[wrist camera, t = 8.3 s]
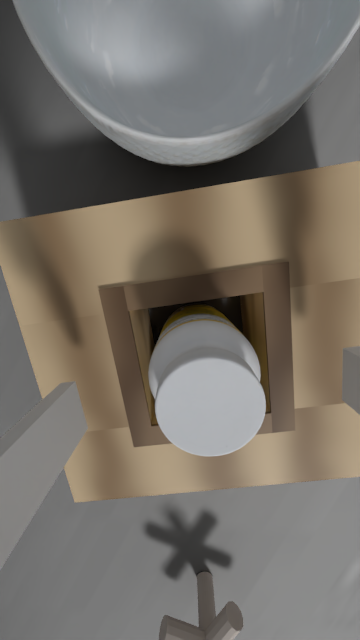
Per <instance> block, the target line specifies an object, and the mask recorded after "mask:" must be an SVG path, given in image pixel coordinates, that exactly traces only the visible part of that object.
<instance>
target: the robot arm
mask: <svg viewBox="0 0 360 640" xmlns="http://www.w3.org/2000/svg"><path fill="white" fill-rule="evenodd" d="M342 400H343V401H344V402H345V403H346V404H347V405H349V406H350V407H351V408H352V409H353V410H355V411H356V412H357V413H358V414H359V415H360V346H356V347H348V348H343V366H342ZM87 429H88V426H87V423H86V419H85V415H84V412H83V408H82V404H81V401H80V397H79V393H78V389H77V386H76V382H75V381H73V382H65V383H60V384H59V385H58V386H57V387H56V388H55V389H54V390H52V391H51V392H50V393H49V394H48V395H47V396H46V397H45V398H44V399H43V400H41V401H40V402H39V403H38V404H37V405H36V406H35V407H34V408H33V409H32V410H30V411H29V412H28V413H27V414H26V415H25V416H24V417H23V418H22V419H21V420H19V421H18V422H17V423H16V424H15V425H14V426H13V427H12V428H11V429H10V430H8V431H7V432H6V433H5V434H4V435H3V436H2V437H1V438H0V570H1V568H2V567H3V565H4V563H5V562H6V560H7V559H8V557H9V555H10V554H11V552H12V550H13V549H14V547H15V546H16V544H17V542H18V541H19V539H20V537H21V536H22V534H23V533H24V531H25V529H26V528H27V526H28V525H29V523H30V521H31V520H32V518H33V516H34V515H35V513H36V512H37V510H38V508H39V507H40V505H41V503H42V502H43V500H44V499H45V497H46V495H47V494H48V492H49V490H50V489H51V487H52V486H53V484H54V482H55V481H56V479H57V477H58V476H59V474H60V473H61V471H62V469H63V468H64V466H65V465H66V463H67V461H68V460H69V458H70V456H71V455H72V453H73V452H74V450H75V448H76V447H77V445H78V443H79V442H80V440H81V439H82V437H83V435H84V434H85V432H86V430H87Z"/></svg>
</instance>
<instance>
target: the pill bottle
mask: <svg viewBox="0 0 360 640" xmlns="http://www.w3.org/2000/svg"><path fill="white" fill-rule="evenodd" d="M148 377H149V385H150V389H151V392H152V394H153V396H154V398H155V414H156V419H157V422H158V424H159V427H160V429H161V430H162V432H163V433H164V435H165V436H166V437H167V438H168V440H169V441H170V442H172V443H173V444H174V445H175V446H177V447H178V448H180V449H182V450H184V451H186V452H188V453H191V454H194V455H199V456H209V457H210V456H221V455H225V454H229V453H232V452H234V451H236V450H238V449H240V448H241V447H243V446H244V445H246V444H247V443H248V442H249V441H250V440H251V439H252V438H253V437H254V436H255V435H256V433H257V432H258V430H259V429H260V427H261V425H262V423H263V420H264V416H265V411H266V399H265V394H264V390H263V388H262V385H261V383H260V377H261V373H260V365H259V360H258V357H257V355H256V353H255V350H254V349H253V347H252V345H251V344H250V342H249V341H248V340H247V339H246V338H245V336H244V335H243V334H242V333H241V332H240V331H239V330H238V329H237V328H236V327H235V326H234V325H233V324H232V323H231V322H230V321H229V320H228V319H227V318H226V317H225V315H224V314H222V313H221V312H220V311H219V310H217V309H216V308H214V307H212V306H209V305H206V304H199V303H195V304H188V305H185V306H182V307H180V308H179V309H177V310H176V311H174V312H173V313H172V314H171V315H170V316H169V318H168V319H167V320H166V322H165V324H164V326H163V328H162V331H161V333H160V336H159V338H158V341H157V343H156V346H155V348H154V351H153V353H152V356H151V360H150V364H149V371H148Z"/></svg>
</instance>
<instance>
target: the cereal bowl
mask: <svg viewBox="0 0 360 640" xmlns="http://www.w3.org/2000/svg"><path fill="white" fill-rule="evenodd" d="M12 1H13V4H14V6H15V9H16V12H17V14H18V17H19V19H20V21H21V23H22V25H23V28H24V30H25V32H26V34H27V36H28V38H29V40H30V42H31V44H32V45H33V47H34V48H35V50H36V52H37V53H38V55H39V57H40V58H41V60H42V62H43V64H44V65H45V67H46V69H47V70H48V71H49V73H50V74H51V75H52V76H53V78H54V79H55V81H56V82H57V84H58V85H59V86H60V88H61V89H62V90H63V91H64V92H65V93H66V95H67V96H68V98H69V99H70V100H71V101H72V102H73V104H74V105H75V106H76V107H77V108H78V110H79V111H80V112H81V113H82V114H83V115H84V116H85V117H86V118H87V119H88V120H89V121H90V122H91V123H92V124H93V125H94V126H95V127H96V128H97V129H98V130H100V131H101V132H102V133H103V134H104V135H105V136H107V137H108V138H110V139H111V140H112V141H114V142H115V143H117V144H118V145H119V146H121V147H122V148H124V149H126V150H128V151H130V152H132V153H133V154H135V155H138V156H140V157H142V158H145V159H147V160H150V161H154V162H156V163H161V164H166V165H170V166H186V167H189V166H199V165H203V166H204V165H207V164H212V163H215V162H221V161H223V160H226V159H228V158H230V157H235V156H236V155H238V154H241V153H243V152H245V151H246V150H249V149H250V148H252V147H253V146H255V145H257V144H259V143H260V142H261V141H263V140H264V139H266V138H267V137H268V136H270V135H271V134H273V133H274V132H275V131H276V130H277V129H278V128H279V127H281V126H282V125H283V124H284V123H285V122H286V121H287V120H289V118H290V117H292V116H293V115H294V114H295V113H296V112H297V111H298V110H299V108H300V107H301V106H302V104H303V103H305V102H306V101H307V100H308V99H309V98H310V96H311V94H312V93H313V92H314V90H315V89H316V88H317V87H318V86H319V85H320V84H321V83H322V81H323V80H324V79H325V77H326V75H327V74H328V73H329V71H330V70H331V69H332V68H333V67H334V65H335V64H336V62H337V60H338V59H339V57H340V56H341V55H342V53H343V52H344V51H345V49H346V47H347V46H348V44H349V42H350V40H351V39H352V37H353V35H354V34H355V32H356V31H357V29H358V28H359V26H360V0H12Z"/></svg>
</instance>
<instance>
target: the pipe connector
mask: <svg viewBox="0 0 360 640" xmlns="http://www.w3.org/2000/svg"><path fill="white" fill-rule="evenodd" d="M197 586H198V613H199V627H197V626H194V625H191V624H189V623H186V622H183V621H181V620H178V619H175V618H173V617H170V616H168V615H165V616H164V617H163V619H162V623H161V626H160V633H159V640H233V639H234V638H235V637H236V636H237V634H238V633H239V632H240V631H241V629H242V627H243V617H242V614H241V611H240V609H239V608H238V606H237V605H236V604H235V603H234V602H233V601H232V602H228V603H227V604H226V606H225V607H224V608H223V609H222V610H221V612H220V613H219V614H218V615H217V617H216V613H215V601H214V590H213V578H212V575H211V574H210V573H209V572H201V573H199V574H198V575H197Z"/></svg>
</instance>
